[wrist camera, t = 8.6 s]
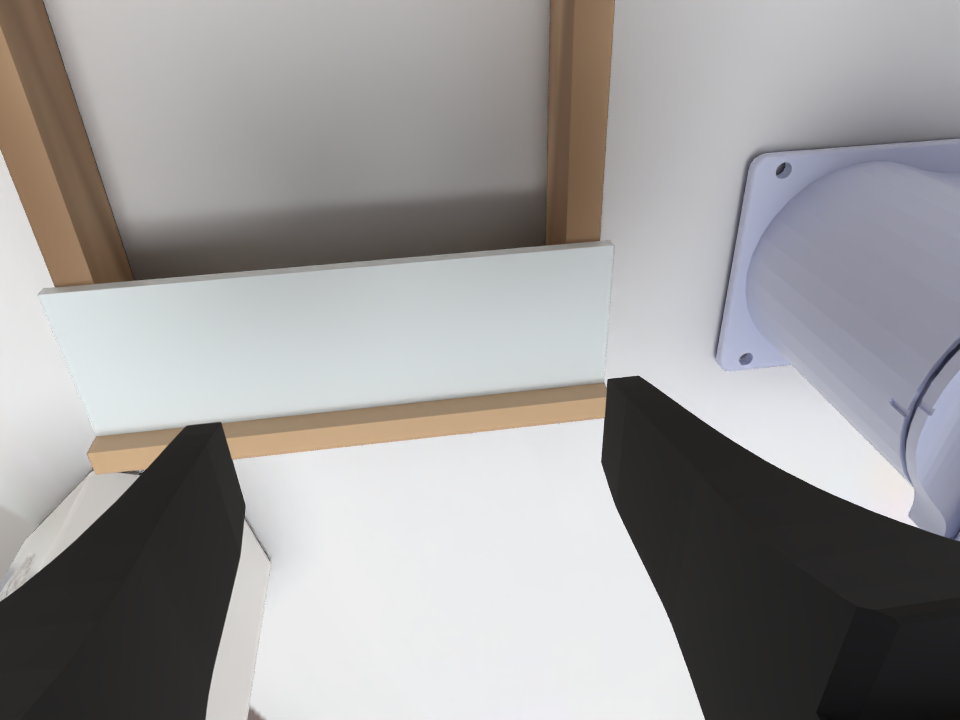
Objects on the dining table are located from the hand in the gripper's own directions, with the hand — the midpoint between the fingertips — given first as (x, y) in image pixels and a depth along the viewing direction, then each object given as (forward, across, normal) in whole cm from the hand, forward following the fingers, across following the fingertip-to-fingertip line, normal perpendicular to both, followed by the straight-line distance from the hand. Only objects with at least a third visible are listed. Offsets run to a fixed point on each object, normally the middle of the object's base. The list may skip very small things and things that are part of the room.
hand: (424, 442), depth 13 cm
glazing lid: (+8, +2, +2) cm, 8 cm away
